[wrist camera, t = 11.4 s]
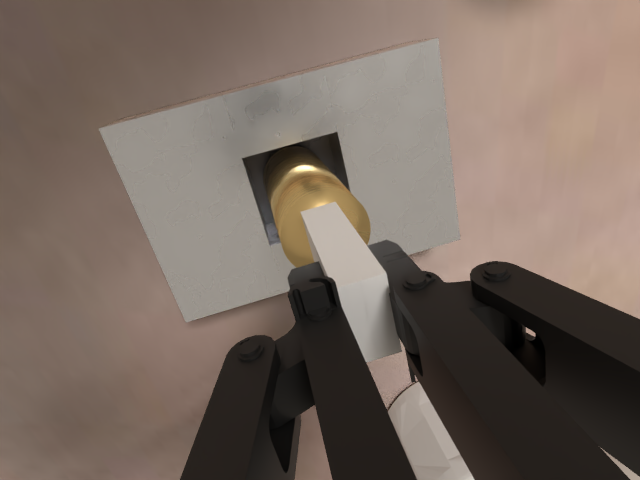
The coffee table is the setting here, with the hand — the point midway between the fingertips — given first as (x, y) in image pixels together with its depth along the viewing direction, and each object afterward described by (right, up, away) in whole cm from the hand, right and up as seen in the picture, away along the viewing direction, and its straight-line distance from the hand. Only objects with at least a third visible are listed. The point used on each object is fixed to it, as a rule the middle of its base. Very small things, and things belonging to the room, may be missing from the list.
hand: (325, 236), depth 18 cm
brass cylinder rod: (-2, +4, +10) cm, 11 cm away
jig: (-2, +4, +10) cm, 11 cm away
